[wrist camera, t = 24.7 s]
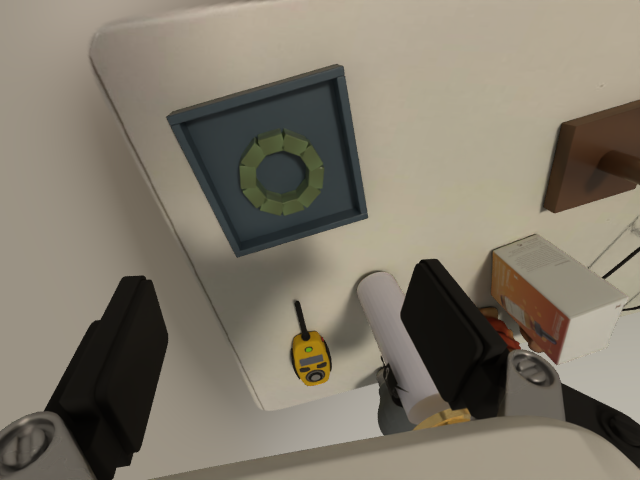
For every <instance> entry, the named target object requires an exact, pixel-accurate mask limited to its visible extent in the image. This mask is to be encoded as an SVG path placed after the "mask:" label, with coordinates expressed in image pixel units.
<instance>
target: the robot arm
mask: <svg viewBox="0 0 640 480" xmlns="http://www.w3.org/2000/svg"><path fill="white" fill-rule="evenodd" d="M400 318H401V321H402V323H403V325H404V327H405V329H406V331H407V333H408V335H409V336H410V338H411V340H412V342H413V344H414V346H415V348H416V350H417V352H418V354H419V356H420V358H421V359H422V361H423V363H424V365H425V367H426V369H427V371H428V373H429V375H430V377H431V379H432V381H433V382H434V384H435V386H436V388H437V390H438V392H439V394H440V396H441V398H442V399H443V400H444V401H445V402H448V404H449V406H450V408H451V410H452V411H454V410H460V409H466V408H467V409H468V411H469V413H470V415H471V416H470V421H468V422H461V423H455V424H449V425H443V426H437V427H432V428H426V429H420V430H414V431H408V432H403V433H397V434H391V435H385V436H380V437H374V438H369V439H363V440H357V441H352V442H346V443H341V444H335V445H330V446H325V447H318V448H313V449H307V450H301V451H297V452H291V453H285V454H280V455H274V456H269V457H263V458H258V459H253V460H247V461H241V462H236V463H231V464H225V465H220V466H214V467H209V468H204V469H199V470H194V471H189V472H184V473H179V474H174V475H169V476H164V477H159V478H154V479H149V480H640V425H639V424H638V423H637V422H635V421H634V420H632V419H631V418H630V417H629V416H627V415H625V414H623V413H622V412H620V411H618V410H616V409H614V408H612V407H610V406H608V405H605V404H603V403H601V402H599V401H597V400H595V399H593V398H591V397H589V396H587V395H585V394H583V393H581V392H579V391H577V390H575V389H573V388H571V387H569V386H567V385H565V384H562V383H561V381H560V378H559V375H558V373H557V372H556V370H555V369H554V367H552V365H551V364H550V363H549V362H548V361H546V360H545V359H543V358H542V357H541V356H539V355H537V354H535V353H533V352H530V351H527V350H521V349H517V350H513V351H511V352H510V351H509V350H508V348H507V346H508V345H507V343H506V342H505V341H504V340H503V338H502V337H501V336H500V335H499V334H498V332H497V331H496V330H495V329H494V327H493V326H492V325H491V324H490V323H489V321H488V320H487V319H486V318H485V316H484V315H483V314H482V313H481V312H480V310H479V309H478V308H477V307H476V305H475V304H474V303H473V302H472V301H471V299H470V298H469V297H468V296H467V294H466V293H465V292H464V291H463V290H462V288H461V287H460V286H459V285H458V283H457V282H456V281H455V280H454V279H453V277H452V276H451V275H450V274H449V272H448V271H447V270H446V269H445V268H444V266H443V265H442V264H441V263H440V261H439V260H437V259H424V260H421V261H420V262H419V264H416V266H415V268H414V271H413V274H412V277H411V281H410V284H409V287H408V290H407V293H406V296H405V299H404V302H403V305H402V308H401V312H400ZM167 345H168V333H167V329H166V326H165V322H164V319H163V316H162V312H161V309H160V306H159V302H158V299H157V295H156V292H155V289H154V285H153V282H152V280H146V277H145V276H125V277H123V278H122V279H121V281H120V283H119V285H118V287H117V289H116V291H115V293H114V294H113V297H112V298H111V301H110V303H109V305H108V306H107V308H106V310H105V312H104V314H103V316H102V318H101V320H97V321H94V322H93V323H92V324H91V325H90V326H89V328H88V330H87V332H86V334H85V335H84V337H83V339H82V341H81V343H80V345H79V346H78V348H77V350H76V352H75V354H74V356H73V358H72V359H71V361H70V363H69V365H68V367H67V369H66V371H65V373H64V374H63V376H62V378H61V380H60V382H59V384H58V386H57V388H56V389H55V391H54V393H53V395H52V397H51V399H50V400H49V402H48V404H47V406H46V408H45V410H44V411H43V412H36V413H32V414H29V415H26V416H24V417H22V418H20V419H18V420H16V421H14V422H12V423H11V424H10V425H8V426H7V427H5V428H4V429H2V430H1V431H0V480H112V479H113V478H114V474H115V471H116V468H117V467H124V466H130V464H131V460H132V456H133V453H135V452H138V451H139V450H140V448H141V446H142V442H143V438H144V434H145V430H146V426H147V423H148V419H149V415H150V411H151V407H152V403H153V399H154V395H155V391H156V388H157V383H158V380H159V375H160V372H161V368H162V364H163V361H164V357H165V353H166V349H167Z"/></svg>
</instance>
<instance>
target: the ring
mask: <svg viewBox="0 0 640 480" xmlns="http://www.w3.org/2000/svg"><path fill="white" fill-rule="evenodd" d="M280 151H286V152H289V153H292V154H295V155H297V156H300V157H301V159H302V160H303V162H304V163H305V165H306V172H305V179H304V180H303V181H302V182H301V184H300V185H299V186H298V187H297V189H296V190H293V191H290V192H287V193H283V194H279V193H275V192H272V191H269V190H266V189H265V188H264V186H263V185H262V184H261V183H260V182H259V180H258V179H257V178H256V169H257V167H258V166H259V165H260V163H261V162H262V161H263V159H264V158H265V157H266V155H270V154H273V153H276V152H280ZM239 170H240V186H241V189H242V192H243V194H244V195H245V196H246V197H247V198H248V199H249V200H250V202H251V203H252V204H253V205H254V206H255V207H256V208H258V207H260V211H264V212H267V213H271V214H275V215H278V216H281V214H282V212H283V215H284V216H286V215H289V214H292V213H296V212H299V211H302V210H304V206H305V207H307V208H308V207H309V206H310V204H311V203H312V202H313V201H314V200H315V199H316V197H317V196H318V195H319V194H320V193H321V191H320V189H322V188H323V179H324V166H323V162H322V160H321V158H320V156H319V155H318V153H317V152H316V150H315V149H314V147H313V145H312V144H311V142H310V141H309V139H306V137H305V136H303V135H301V134H298V133H295V132H293V131H290V130H287V129H285V128H284V129H283V131H282V133H281V129H280V128H278V129H275V130H271V131H268V132H264V133H261V134H258V139H257V138H255V137H254V138H253V139H252V141H251V142H250V143H249V145H248V146H247V148H246V149H245V150H244V152H243V153H242V155H241V159H240V165H239ZM303 205H304V206H303Z"/></svg>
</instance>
